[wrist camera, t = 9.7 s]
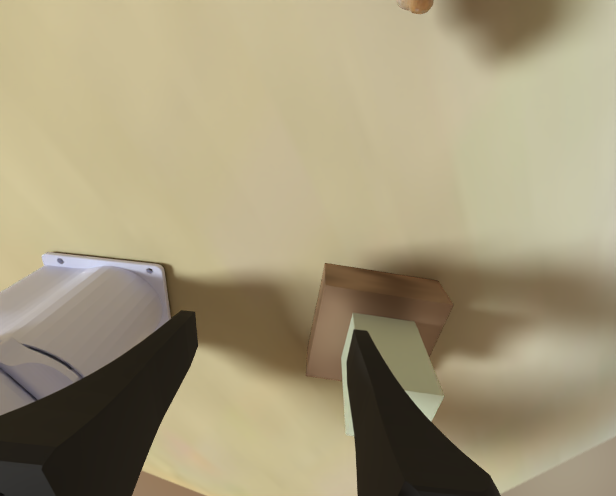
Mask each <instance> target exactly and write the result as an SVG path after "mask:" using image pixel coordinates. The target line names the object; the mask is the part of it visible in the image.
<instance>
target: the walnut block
mask: <svg viewBox="0 0 616 496" xmlns="http://www.w3.org/2000/svg"><path fill="white" fill-rule="evenodd" d="M452 307H453V303H452V302H451V300H450V298H449V297H448V295H447V294H446V292H445V291H444V289H443V288H442V286H441V284H440V283H439V281H437V280H430V279H424V278H418V277H411V276H405V275H398V274H392V273H386V272H379V271H373V270H366V269H360V268H354V267H347V266H341V265H334V264H328V263H325V266H324V270H323V275H322V280H321V285H320V290H319V295H318V300H317V304H316V309H315V314H314V319H313V324H312V329H311V333H310V338H309V343H308V348H307V365H306V376H310V377H317V378H324V379H331V380H338V381H342V364H341V357H342V353H343V349H344V345H345V341H346V337H347V333H348V330H349V326H350V322H351V318H352V314H353V313H358V314H365V315H372V316H379V317H386V318H393V319H400V320H407V321H414V322H415V323H416V326H417V328H418V331H419V333H420V336H421V338H422V341H423V343H424V346H425V349H426V351H427V354H428V356H429V357H430V354H431V352H432V350H433V348H434V346H435V344H436V342H437V339H438V337H439V335H440V333H441V331H442V329H443V326H444V324H445V322H446V320H447V318H448V316H449V314H450V311H451V309H452Z"/></svg>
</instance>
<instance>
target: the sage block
mask: <svg viewBox="0 0 616 496" xmlns="http://www.w3.org/2000/svg"><path fill="white" fill-rule="evenodd" d="M354 329H357V330H366V331H368V332H369V334H370V336H371V338H372V340H373V342H374V344H375V345H376V347H377V349H378V351H379V352H380V354H381V356H382V357H383V359H384V361H385V362H386V364H387V365H388V367H389V369H390V370H391V372H392V373H393V375H394V376H395V378H396V379H397V381H398V382H399V383H400V385H401V386H402V388H403V389H404V390H405V392H406V393H407V394H408V395H409V397H410V398H411V399H412V400H413V402H414V403H415V404H416V405H417V407H418V408H419V409H420V410H421V411H422V412H423V413H424V415H425V416H426V417H427V418H428V419H429V420H430V421H432V419H433V417H434V416H435V414H436V412H437V410H438V408H439V406H440V404H441V402H442V400H443V398H444V394H443V391H442V389H441V386H440V384H439V381H438V379H437V376H436V374H435V371H434V369H433V366H432V364H431V361H430V359H429V356H428V354H427V351H426V349H425V346H424V343H423V341H422V338H421V336H420V333H419V331H418V328H417V326H416V323H415V322H414V321H407V320H400V319H393V318H386V317H379V316H372V315H365V314H358V313H353V314H352V318H351V322H350V326H349V330H348V333H347V337H346V341H345V345H344V349H343V353H342V357H341V364H342V381H343V399H344V416H345V433H346V435H349V436H354V430H353V423H352V416H351V409H350V402H349V395H348V387H347V366H346V361H347V357H348V352H349V348H350V343H351V339H352V334H353V330H354Z"/></svg>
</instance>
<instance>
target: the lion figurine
mask: <svg viewBox="0 0 616 496" xmlns="http://www.w3.org/2000/svg"><path fill="white" fill-rule="evenodd" d="M397 4H398V6H399V7H401V8H402V9H405V10H410V11H411V12H412V13H416V14H423V13H426V12H427V11H428V10H429V9H430V8H431V7H432V5H433V0H397Z"/></svg>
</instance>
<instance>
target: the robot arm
mask: <svg viewBox="0 0 616 496" xmlns="http://www.w3.org/2000/svg"><path fill="white" fill-rule="evenodd" d="M42 260H43V263H44V266H43V267H41V268H39V269H38V270H36V271H34V272H33V273H31V274H29V275H28V276H26V277H24V278H23V279H21V280H19V281H18V282H16V283H14V284H13V285H11V286H9V287H8V288H6V289H4V290H3V291H1V292H0V496H132V494H133V491H134V488H135V486H136V483H137V480H138V478H139V475H140V472H141V470H142V467H143V465H144V462H145V460H146V457H147V455H148V452H149V450H150V447H151V445H152V442H153V440H154V438H155V435H156V433H157V430H158V428H159V426H160V424H161V422H162V419H163V417H164V415H165V413H166V411H167V410H168V408H169V406H170V404H171V402H172V400H173V398H174V396H175V395H176V393H177V391H178V389H179V387H180V385H181V383H182V381H183V379H184V378H185V376H186V374H187V372H188V370H189V368H190V366H191V363H192V361H193V358H194V355H195V353H196V350H197V347H198V340H197V328H196V317H195V312H192V311H180V312H179V313H178V314H176V315H175V316H174V317H172V318H171V315H170V308H169V300H168V293H167V286H166V278H165V271H164V268H163V267H162V266H161V265H159V264H153V263H144V262H135V261H126V260H117V259H107V258H98V257H89V256H80V255H71V254H62V253H53V252H47V253H45V254H43V255H42ZM149 268H150V269H152V270H153V271H151V270H149ZM346 366H347V387H348V395H349V402H350V409H351V416H352V423H353V430H354V438H355V448H356V467H357V491H358V496H501V495H500V493H499V491H498V489H497V487H496V486H495V484H494V482H493V480H492V478H491V476H490V475H489V474H488V473H487V472H485V471H484V470H483V469H482V468H481V467H479V466H478V465H477V464H476V463H475V462H473V461H472V460H471V459H470V458H469V457H467V456H466V455H465V454H464V453H463V452H462V451H461V450H459V449H458V448H457V447H456V446H455V445H454V444H453V443H452V442H451V441H450V440H449V439H448V438H447V437H446V436H445V435H444V434H442V432H441V431H440V430H439V429H438V428H437V427H436V426H435V425H434V424H433V423H432V422H431V421H430V420H429V419H428V418H427V417H426V416H425V415H424V413H423V412H422V411H421V410H420V409H419V408H418V407H417V405H416V404H415V403H414V402H413V400H412V399H411V398H410V397H409V395H408V394H407V393H406V392H405V390H404V389H403V388H402V386H401V385H400V383H399V382H398V381H397V379H396V378H395V376H394V375H393V373H392V372H391V370H390V369H389V367H388V365H387V364H386V362H385V361H384V359H383V357H382V356H381V354H380V352H379V351H378V349H377V347H376V345H375V344H374V342H373V340H372V338H371V336H370V334H369V332H368V331H366V330H357V329H354V330H353V334H352V339H351V343H350V348H349V352H348V357H347V361H346Z"/></svg>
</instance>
